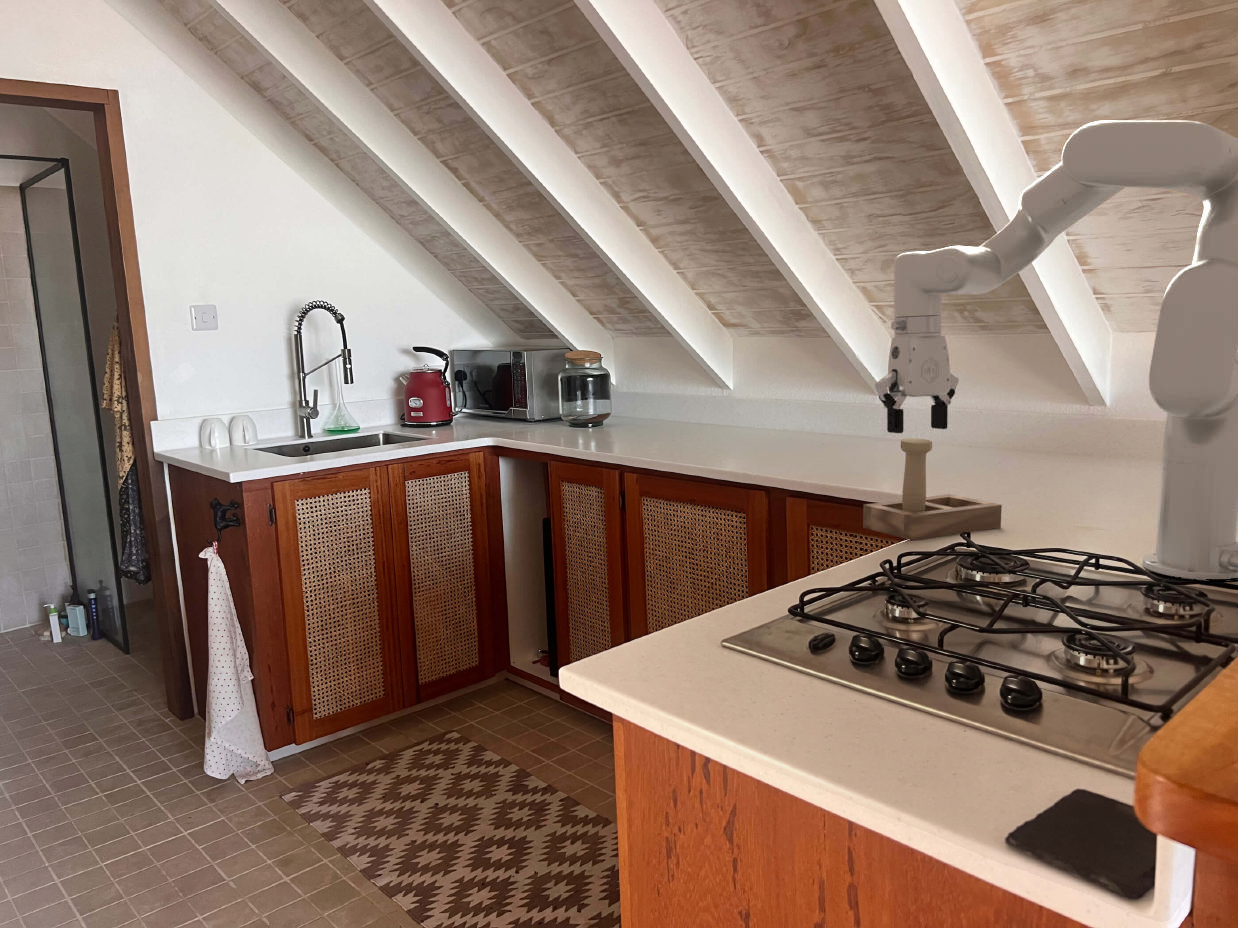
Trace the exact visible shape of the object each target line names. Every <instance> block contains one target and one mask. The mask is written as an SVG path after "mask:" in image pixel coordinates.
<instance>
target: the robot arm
mask: <svg viewBox="0 0 1238 928" xmlns="http://www.w3.org/2000/svg"><path fill="white" fill-rule="evenodd" d="M1125 188H1142V189H1164V190H1171V191H1172V190H1174V191H1176V192H1179V193H1183V194H1187V195H1191V196H1195V197H1197V198H1199V199H1201V202H1202V204H1203V212H1202V216H1201V219H1200V222H1199V226H1198V229H1197V234H1196V240H1195V241H1196V242H1195V249H1194V252H1193V258H1192V262H1191V265H1188V266H1187V267H1185V268H1183V269H1181V270H1180V271H1179V272H1178V273H1177V274H1176V275H1175V276H1174V277H1173V278H1172V279H1171V281H1170V282H1169V284H1168V286H1167V288H1166V289H1165V293H1164V294H1163V297H1162V301H1161V303H1160V304H1161V306H1160V310H1159V314H1158V315H1159V316H1158V320H1157V321H1158V322H1157V325H1156V326H1157V327H1156V332H1155V337H1154V338H1155V339H1154V344H1153V348H1152V353H1151V354H1152V355H1151V359H1150V360H1151V361H1150V366H1149V374H1148V388H1149V389H1148V390H1149V393H1150V395H1151V398H1152V399H1153V401H1154V403H1155V404H1156V406H1158V407H1159V408H1160V409H1161V410H1162V411H1163V412H1165V413H1166V420H1165V426H1164V432H1163V441H1162V454H1161V457H1162V458H1161V467H1160V468H1161V469H1160V482H1159V498H1158V513H1157V531H1156V542H1155V543H1156V544H1155V545H1156V548H1155V552H1153V553H1152V552H1151V553H1148V554H1146V555H1144V556H1143V558H1142V566H1143V567H1144V568H1145V569H1146V570H1149V571H1151V572H1153V573H1157V574H1160V575H1165V576H1169V577H1173V576H1174V578H1179V577H1181V578H1180V579H1187V580H1194V579H1196V581H1197V580H1198V581H1207V580H1206V579H1231V578H1238V541H1237V533H1238V138H1237V137H1235V136H1233V135H1231V134H1229V133H1228V132H1226V131H1224V130H1221V129H1219V128H1217V127H1216V126H1214V125H1211V124H1208V123H1205V122H1201V121H1197V120H1196V121H1195V120H1097V121H1092V122H1089V123H1086V124H1084V125H1083V126H1081V127H1079V128H1078V129H1077V130H1075V131H1074V132H1073V133H1072V134H1071V135H1070V136H1069V138H1068V139H1067V140H1066V142H1065V144H1064V146H1063V148H1062V152H1061V162H1059V163H1058V164H1056V165H1055V166H1054V167H1053V168H1051V169H1049V170H1048V171H1047V172H1046V173H1045V174H1044V175H1042V176H1040V177H1039V178H1038V179H1037V180H1036V181H1034V182H1032V183H1031V184H1030V185H1029V186H1027V187H1026V188H1025V189H1023V191H1022V192H1021V194H1019V195H1020V196H1019V199H1018V205H1017V210H1016V212H1015V214H1014V216H1013V218H1011V220H1009V222H1008V223H1007V224H1006V225H1005V226H1004V227H1003V228H1002V229H1001V230H1000V231H998V232H997V233H996V234H994V235H993V236H991V237H990V238H988V239H987V240H986V241H985V242H983V243H982V244H981V245H979V246H964V245H952V246H948V247H944V248H939V249H935V250H931V251H930V250H929V251H927V250H925V251H924V250H923V251H922V250H921V251H909V252H904V253H901V254H899V255H897V256H896V258H895V260H894V266H893V267H894V269H893V270H894V272H893V278H894V279H893V281H894V282H893V286H894V288H893V289H894V290H893V294H894V295H893V297H894V299H893V304H894V307H893V308H894V311H893V313H894V315H893V316H894V319H893V321H892V323H891V324H890V327H891V330H894V331H893V333H894V334H893V335H894V336H893V337H892V338H891V343H890V347H889V354H888V365H887V374H886V375H885V376H883V377H882V378H880V379H879V380H878V381H876V382H875V383H874V387H875V390H876V392H877V394H878V399H879V401H880V402H881V403H882V404H883V408H884V409H886V412H887V413H886V421H887V422H886V424H887V425H886V431H887V433H892V434H893V433H894V434H903V433H904V408H901V406H902V405H903V403H904V402H905V401H906V399H907V398H908V397H909V398H918V397H919V398H921V397H930V399H931V401H932V403H934V404H931V407H930V427H931V428H932V429H940V430H947V428H948V424H949V422H948V415H949V414H948V413H949V412H948V409H949V407H948V406H950V405H951V403H952V401H951V400H952V399H953V397H954V396H955V395H956V389H957V386H958V384H959V382H960V380H959V378H958V377H957V376H955V375H954V374H952V373H951V367H950V365H951V364H950V355H949V348H948V343H947V339H946V335H942V332H943V331H942V330H943V329H942V328H943V325H942V323H943V321H942V320H943V319H942V318H943V317H942V315H943V314H942V313H943V312H942V309H943V308H942V307H943V303H942V301H943V297H942V296H943V294H947V295H948V294H949V295H976V296H977V295H982V294H984V295H985V294H988V293H989V292H991V291H994V290H995V289H997V288H998V287H1000V286H1001V285H1003V284H1005V283H1006V282H1007V281H1009V280H1010V279H1011V278H1013V277H1014V276H1016V275H1017V274H1019V273H1020V272H1022V271H1023V270H1024V269H1025V268H1027V267H1028V266H1029V265H1030V264H1032V263H1033V262H1035V260H1037V258H1038V257H1039V256H1041V254H1042V253H1043V252H1044V251H1045V250H1047V249H1048V247H1050V246H1051V244H1052V243H1053V242H1054V241H1055V239H1056V238H1057V237H1058V236H1059V235H1060V234H1062V233H1063V232H1065V231H1066V230H1067V229H1069V228H1070V227H1072V226H1073V225H1074V224H1076V223H1077V222H1079V221H1080V220H1081V219H1083V218H1084V217H1086V216H1087V215H1088V214H1090V213H1091V212H1093V211H1095V210H1096V209H1097V208H1098V207H1100V206H1101V205H1103V204H1104V203H1106V202H1107V201H1108V200H1110V199H1112V198H1113V197H1115V196H1116V195H1117V194H1118V193H1119V192H1121V191H1123V190H1124V189H1125Z"/></svg>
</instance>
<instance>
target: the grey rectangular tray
mask: <svg viewBox="0 0 1238 928" xmlns="http://www.w3.org/2000/svg"><path fill="white" fill-rule="evenodd" d="M902 502H903V501H902V499H900V500H892V501H883V502H875V503H867V504H866V503H865V504H863V506H862V507H863V509H862V511H863V513H862V527H863V528H864V529H868V530H871V531H876V532H879V533H883V534H887V535H891V536H895V537H898V538H903V539H905V540H909V541H918V540H926V539H933V538H937V537H945V536H952V535H959V534H962V533H961V532H966V533H973V532H978V531H985V530H993V529H999V528H1001V527H1002V504H1001V503H995V502H990V501H985V500H980V499H975V498H971V497H964V496H960V495H955V494H950V493H949V494H941V495H934V496H926V502H925V503H926V505H925V512H918V513H911V512H906V511H902V509H903V508H902Z"/></svg>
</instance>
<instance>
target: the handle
mask: <svg viewBox="0 0 1238 928" xmlns="http://www.w3.org/2000/svg"><path fill="white" fill-rule="evenodd" d="M900 449H901V451H902V452H904V453H905V464H904V475H903V483H902V484H903V485H902V494H901V496H902V497H901V498H902V499H901V500H902V501H903V502H902V508H903V509H902V511H906V512H911V513H918V512H925V505H926V503H925V502H926V497H927V472H926V471H927V465H926V464H927V463H926V462H927V461H926V460H927V455H928V453H930V452H931V451H932V449H933V441H932V440H930V439H925V438H902V439H901V440H900Z"/></svg>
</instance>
